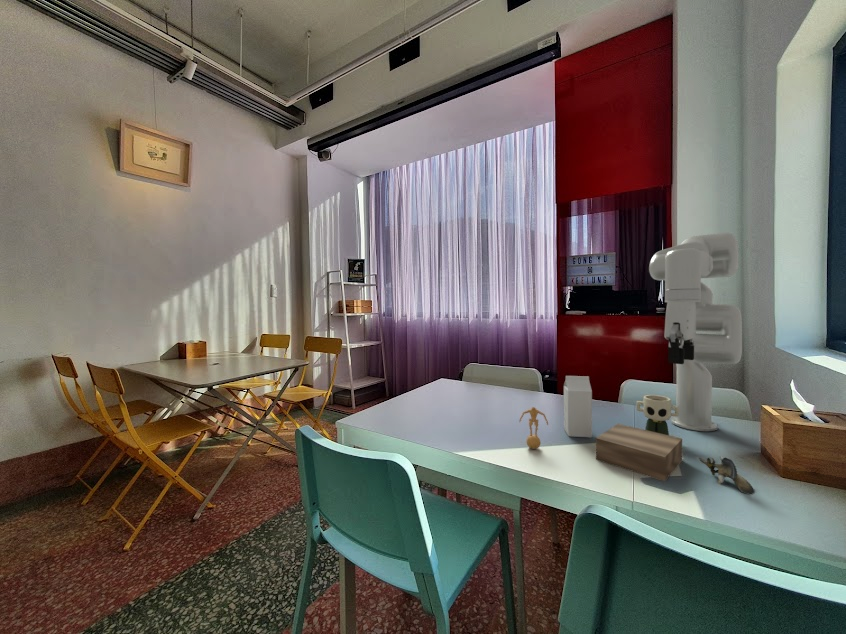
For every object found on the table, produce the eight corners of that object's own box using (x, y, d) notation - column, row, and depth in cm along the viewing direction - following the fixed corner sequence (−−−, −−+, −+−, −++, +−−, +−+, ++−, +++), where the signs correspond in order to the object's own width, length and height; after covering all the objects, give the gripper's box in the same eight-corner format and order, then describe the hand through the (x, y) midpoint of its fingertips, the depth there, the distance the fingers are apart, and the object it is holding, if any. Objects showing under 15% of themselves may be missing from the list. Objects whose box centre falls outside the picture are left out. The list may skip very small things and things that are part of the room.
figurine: (518, 449, 102) (518, 409, 101) (520, 441, 107) (520, 403, 107) (548, 453, 99) (548, 412, 98) (548, 444, 104) (548, 406, 104)
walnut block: (617, 442, 105) (618, 423, 104) (682, 460, 93) (682, 438, 92) (595, 459, 94) (595, 438, 94) (664, 481, 82) (665, 457, 82)
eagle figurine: (693, 472, 84) (732, 484, 75) (701, 445, 86) (741, 454, 77) (716, 487, 85) (758, 500, 76) (725, 460, 86) (766, 470, 78)
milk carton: (592, 438, 109) (592, 378, 108) (568, 436, 110) (568, 378, 110) (586, 429, 116) (586, 374, 115) (563, 428, 117) (563, 373, 116)
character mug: (635, 438, 108) (635, 397, 107) (637, 431, 113) (637, 392, 113) (678, 446, 101) (678, 403, 101) (678, 438, 107) (678, 397, 106)
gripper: (674, 297, 99) (674, 356, 99) (654, 296, 87) (654, 363, 88) (708, 296, 93) (707, 359, 93) (691, 295, 82) (690, 367, 82)
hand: (681, 361), depth 91 cm, fingers open, 9 cm apart
